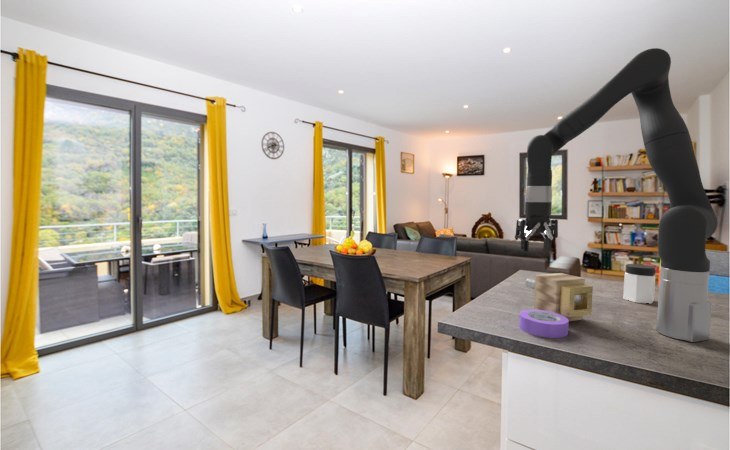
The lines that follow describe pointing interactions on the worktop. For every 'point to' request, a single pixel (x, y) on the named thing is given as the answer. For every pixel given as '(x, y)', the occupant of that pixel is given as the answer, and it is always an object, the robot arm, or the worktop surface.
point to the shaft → (531, 284)
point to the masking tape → (543, 323)
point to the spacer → (568, 300)
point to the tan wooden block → (553, 292)
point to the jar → (639, 283)
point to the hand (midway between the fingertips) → (536, 251)
